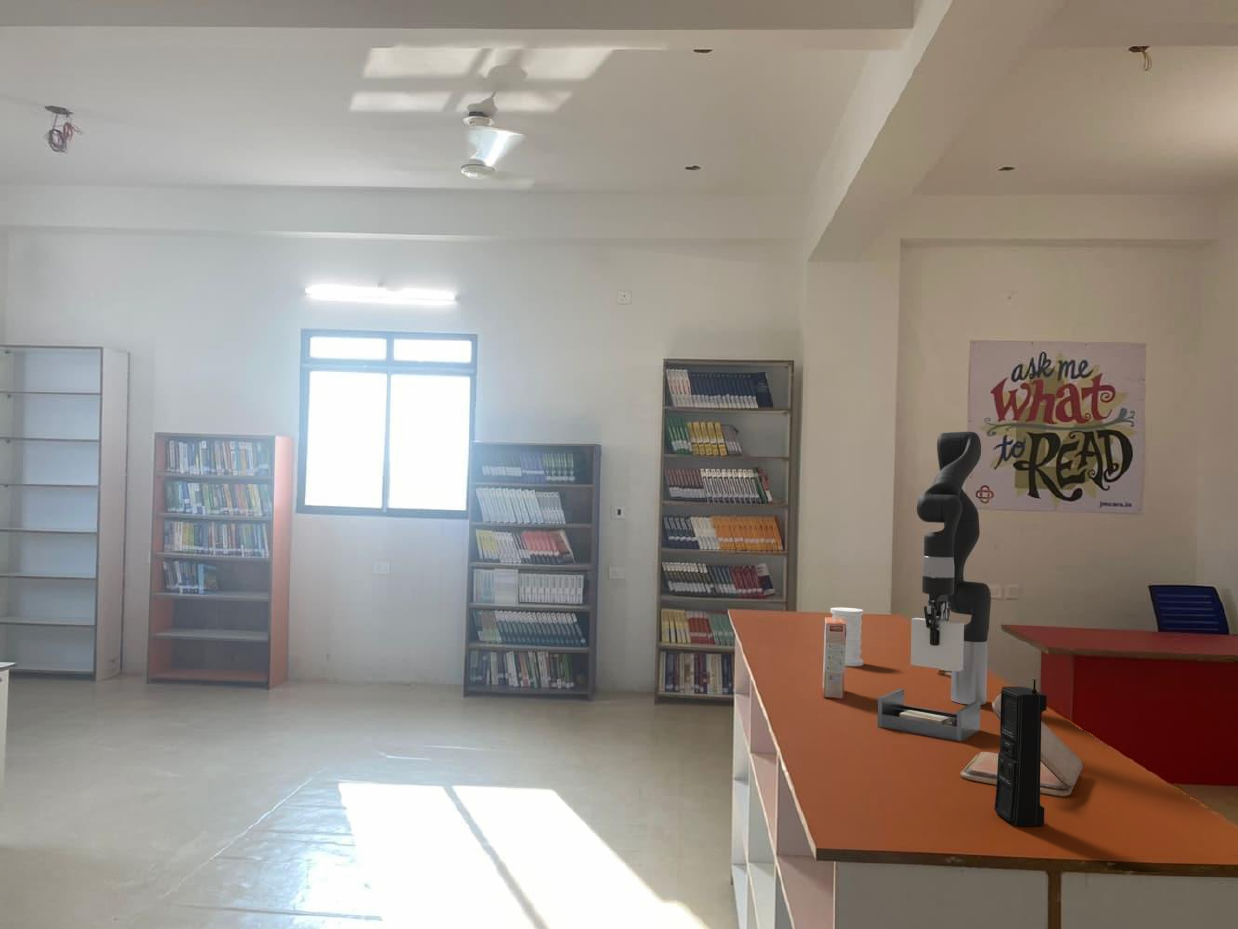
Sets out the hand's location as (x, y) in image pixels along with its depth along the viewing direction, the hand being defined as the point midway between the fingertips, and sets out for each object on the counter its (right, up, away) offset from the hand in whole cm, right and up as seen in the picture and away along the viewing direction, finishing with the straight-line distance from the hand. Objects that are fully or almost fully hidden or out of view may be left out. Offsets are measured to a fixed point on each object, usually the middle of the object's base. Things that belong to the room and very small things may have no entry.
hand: (937, 644), depth 233 cm
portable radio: (-9, -18, -68) cm, 71 cm away
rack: (-3, -20, -4) cm, 20 cm away
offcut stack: (-5, -20, -6) cm, 22 cm away
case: (+3, -19, -42) cm, 46 cm away
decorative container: (-3, -23, +83) cm, 86 cm away
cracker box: (-18, -21, +33) cm, 43 cm away
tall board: (0, -6, 0) cm, 6 cm away
